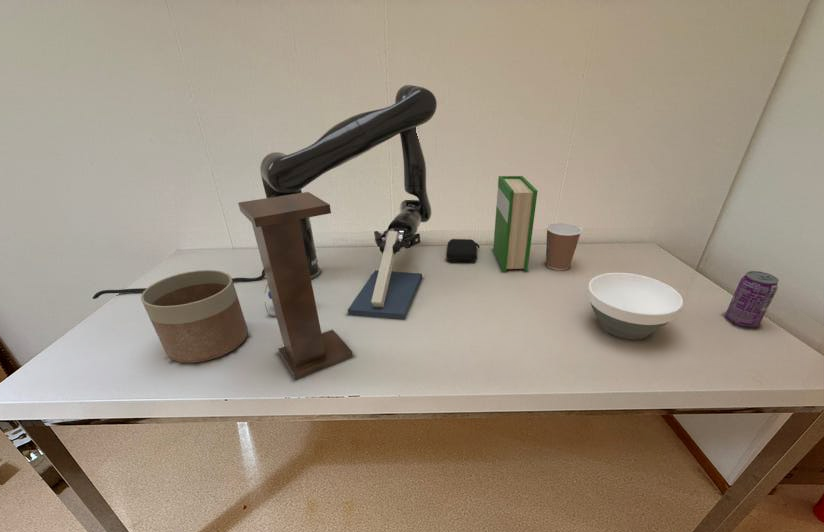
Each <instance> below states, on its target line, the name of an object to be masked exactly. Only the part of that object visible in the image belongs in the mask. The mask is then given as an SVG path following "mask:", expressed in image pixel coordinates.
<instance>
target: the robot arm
mask: <svg viewBox="0 0 824 532" xmlns="http://www.w3.org/2000/svg"><path fill="white" fill-rule="evenodd" d="M437 103H438V101H437V97H436V96H435V94H434V93H433V92H432V91H431V90H429V88H426V87H424V86H418V85H412V84H405V85H402V86H401V87H400V88H399V89H398V90H397V92H396V94H395V99H394V103H393V104H392V105H389V106H386V107H384V108H378V109H373V110H369V111H365V112H360V113H357V114H354V115H351V116H350V117H347V118H346V119H344V120H342V121H340V122H338V123H336V124H334V125H333V126H332V127H330V128H329V129H328V130H327V131H326V132H325V133H324V134H323V135H321V136H320V137H319V138H318V139H316V141H315V142H314V143H312V144H311V145H308V146H307V147H304V148H302V149H299V150H297V151H295V152H292V153H289V154H286V153H284V152H279V151H274V152H270V153H268V154H266V155H265V156H264V157H263V158H262V160H261V163H260V167H259V170H260V171H259V172H260V178H261V182H262V185H263V188H264V194H265V197H266V198H271V197H278V196H284V195H291V194H298V193H303V191H302V189H304V188H305V187H307V186H308V185H309V184H311V183H313V182H314V181H315V180H316V179H318V178H319V177H321V176H322V175H325V174H327V173H328V172H330V171H331V170H334V169H336V168H338V167H340V166H342V165H344V164H346V163H348V162H350V161H352V160H354V159H356V158H358V157H360V156H362V155H364V154H365V153H367V152H369V151H371V150H372V149H374V148H376V147H379V146H380V145H381V144H383V143H385V142H387V141H389V140H391V139H392V138H394V137H395V136H397V135H399V137H400V144H401V151H402V161H403V163H402V164H403V187H404V191H405V193H406V194H408V195H411V196H414V197H416V198H417V199H411V200H406V199H403V200H404V201H403V200H402V201H401V202H400V204H399V213H398V214H397V215H396V216H395V217H394V218H393V220H391V222H390V223H389V224H388V227H387V229H386V230H384V231H383V232H379V231H378V230H375V231H374V232H373V235H374V236H373V237H374V242H375V243H376V245H377V247H378V248H379V251H380V253H382V254H383V252H384V248H385V244H386V240H387V236H388V232H389V231H398V235H399V236H398V240H397V241H396V242H395V243H394V245H393V247H392V248H393V254H395V255H397V253H399V252H400V251H401V250H403V248H404V249H406V250H407V249H410V248H413V247H414V246H416V245H418V244H420V243H421V234H420V233H417V232H418V228H419V227H420V225H421V223H427V222H429V221H430V219H431V218H432V207H431V203H430V199H429V196H428V189H427V165H426V159H425V155H424V152H423V149H422V144H421V141H420V142H419V140H420V138H419V139H418V136H417V133H416V127H417V126H418V127H420V126H422V125H424V124H427V123H428V122H429V121H430V120H431V119H432V118H433V117H434V115H435V114H436V112H437V111H436V110H437V106H438V104H437ZM310 218H311V217H309V218H303V219H299V221H300V227H301V232H302V237H303V242H304V247H305V252H306V257H307V262H308V267H309V272H310V277H311V280H313V279H314V278H316V277H318V276H319V275H320V273H321V272H320V271H321V270H320V266H319V262H318V261H319V260H318V256H317V250H316V244H315V239H314V234H313V229H312V224H311V219H310ZM231 278H232V280H233V283H234V282H256V281H261V280H263V279H264V278H266V275H265V272H264V268H263V269H262V270H261V275H259V276H258V277H253V278H252V277H231ZM147 288H148V287H145V288H144V287H142V288H141V287H140V288H123V289H122V288H121V289H104V290H100V291H98V292H95V294H94V295H93V296H92V300H95V299H96V300H97V299H98V298H99V297H100V296H102V295H105V294H125V293H127V294H128V293H143V292H144V291H145V290H146V289H147Z"/></svg>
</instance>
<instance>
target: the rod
mask: <svg viewBox="0 0 824 532" xmlns="http://www.w3.org/2000/svg"><path fill="white" fill-rule="evenodd" d="M398 236H399V235H398V231H389V232H388V236H387V240H386V244H385V248H384V252H383V253H382V257H381V261H380V263H379V268H378V270H379V272H378V276H377V280H376V284H375V288H374V292H373V296H372V300H371V303H372V305H373V307H382V308H383V306H384V302H385V297H386V293H387V289H388V284H389V280H390V276H391V271H393V267H394V262H395V257H396V254H393V248H392V247H393V245H394V243H395V242H396V241H397V240H398Z"/></svg>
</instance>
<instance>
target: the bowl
mask: <svg viewBox="0 0 824 532" xmlns="http://www.w3.org/2000/svg"><path fill="white" fill-rule="evenodd" d="M587 297H588V300H589V303H590V306H591V308H592V309H593V313H594V315H595V317H596V319H598V322H599V326H600V327H601V328H602V329H603V330H604V331H606V332H607V333H609V334H610V335H612V336H615V337H618V338H621V339H626V340H643V339H645V338H647V337H648V336H650V335H651V334H653V333H656V332H657V331H659V330H660V329H661V328H662V327H665V326H666V325H668V324H669V323H670V322H671V321H672V320H674V319H675V318H676V317H677V316H678V315H679V313H680V312H681V310H682V309H683V306H684V300H683V297H682V295H681V294H680V293H679V291H677V290H676V289H675V288H674V287H672V286H670V285H669V284H667V283H665V282H662V281H661V280H658V279H655V278H652V277H649V276H646V275H641V274H636V273H629V272H607V273H602V274H598V275H597V276H594V277H593V278H591V279H590V281H589V282H588V287H587Z"/></svg>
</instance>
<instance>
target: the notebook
mask: <svg viewBox="0 0 824 532" xmlns="http://www.w3.org/2000/svg"><path fill="white" fill-rule="evenodd" d="M378 272H379V269H377V270H376V269H374V271H373V273H372V274H371V275H370V277H369V278H368V280H367V281H366V283H365V284H364V285H363V287H362V288H361V290H359V292H358V294H357V296H356V297H355V298H354V300H353V301H352V303H351V304H350V306H349V307H348V309H347V314H348V316H361V317H370V318H384V319H397V320H405V318H406V316H407V313H408V312H409V309H410V307H411V305H412V302H413V300H414V299H415V296H416V293H417V291H418V288H419V287H420V284H421V281H422V280H423V273H420V272H405V271H393V270H392V271H391V276H390V280H389V284H388V289H387V293H386V297H385V302H384V306H383V308H382V307H373V305H372V303H371V300H372V296H373V292H374V288H375V284H376V280H377V276H378Z"/></svg>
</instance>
